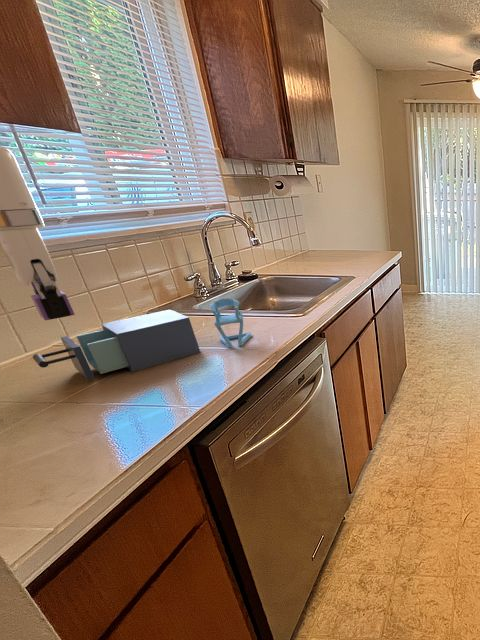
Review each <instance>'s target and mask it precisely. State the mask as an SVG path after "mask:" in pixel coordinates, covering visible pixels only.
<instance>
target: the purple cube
mask: <svg viewBox="0 0 480 640" xmlns="http://www.w3.org/2000/svg"><path fill="white" fill-rule="evenodd" d="M59 292H60V294H61V296H63V298H64V300H65V302H66V304H67V307H68V309H69V311H70V313H71V315H70V316H69V317H72V316H75V315H76V314H75V312H74V310H73V309H74V308H73V307H72V305H71V303H70V300H69V299H68V296H67V294H66V293H64V292H63V291H62V290H59ZM30 297H31V299H32V301H33V303H34V305H35V306H34V307H35V308H36V310H37V312H38V314H39V316H40V317H41V318H42V319H43V320H44V321H50V320H51V321H52V319H49V318H48V316H47V314H46V312H45V310H44V307H43V305H42V303H41V301H40V299H41V297H40V295H39V294H37V295H36V294H31V295H30Z"/></svg>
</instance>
